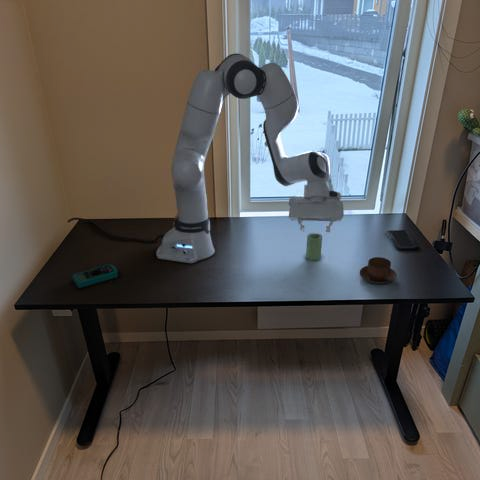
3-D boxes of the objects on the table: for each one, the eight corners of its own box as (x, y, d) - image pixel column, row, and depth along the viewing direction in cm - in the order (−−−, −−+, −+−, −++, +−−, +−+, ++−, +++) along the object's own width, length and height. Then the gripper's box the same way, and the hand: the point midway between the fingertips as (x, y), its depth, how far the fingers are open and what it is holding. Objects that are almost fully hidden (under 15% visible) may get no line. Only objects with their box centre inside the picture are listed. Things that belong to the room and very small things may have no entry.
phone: (397, 247, 174) (386, 230, 186) (397, 249, 175) (386, 233, 187) (418, 246, 174) (406, 229, 186) (417, 249, 175) (405, 232, 187)
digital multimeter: (120, 277, 165) (118, 270, 163) (79, 289, 158) (76, 282, 157) (113, 269, 170) (111, 262, 168) (73, 280, 164) (71, 273, 162)
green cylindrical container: (305, 259, 171) (307, 238, 166) (306, 253, 175) (307, 232, 170) (320, 260, 170) (322, 239, 165) (320, 253, 174) (322, 233, 169)
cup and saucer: (403, 280, 156) (406, 264, 153) (377, 290, 151) (380, 274, 148) (376, 266, 165) (379, 250, 161) (351, 276, 160) (353, 260, 156)
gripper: (289, 192, 172) (286, 227, 169) (345, 193, 169) (343, 229, 167) (289, 199, 178) (287, 233, 176) (343, 200, 175) (341, 235, 173)
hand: (315, 231), depth 171 cm, fingers open, 8 cm apart
